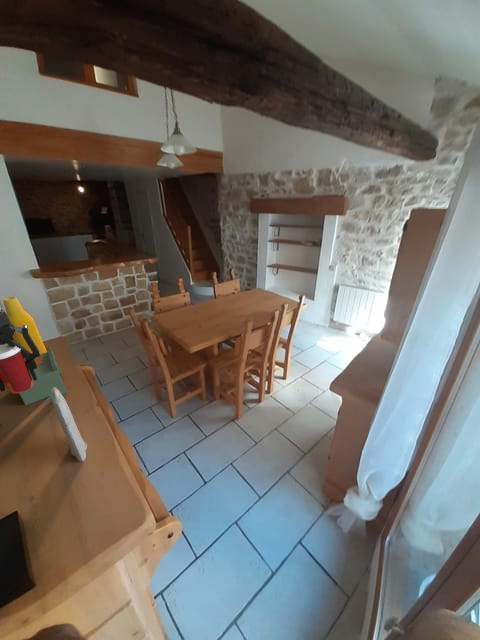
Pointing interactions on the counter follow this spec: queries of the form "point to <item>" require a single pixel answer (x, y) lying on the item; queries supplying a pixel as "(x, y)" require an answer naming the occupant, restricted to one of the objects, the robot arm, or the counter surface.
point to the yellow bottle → (23, 318)
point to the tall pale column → (68, 425)
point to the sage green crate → (44, 379)
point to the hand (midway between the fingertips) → (19, 383)
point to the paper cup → (14, 370)
